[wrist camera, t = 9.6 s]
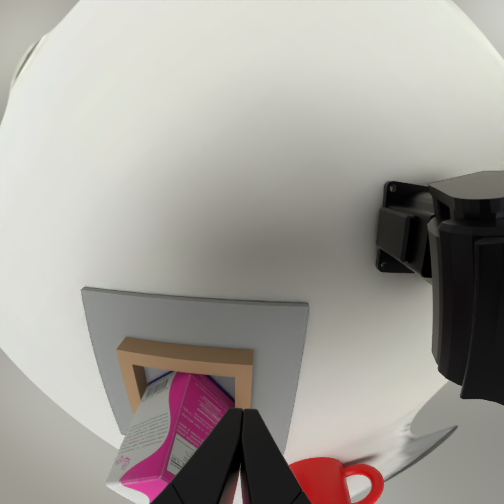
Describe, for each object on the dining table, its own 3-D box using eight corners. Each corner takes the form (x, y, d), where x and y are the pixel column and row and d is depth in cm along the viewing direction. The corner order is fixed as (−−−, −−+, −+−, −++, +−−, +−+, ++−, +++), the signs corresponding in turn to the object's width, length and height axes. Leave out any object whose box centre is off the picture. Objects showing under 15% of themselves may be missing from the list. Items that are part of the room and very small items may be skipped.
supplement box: (191, 421, 23) (165, 521, 12) (147, 381, 22) (98, 482, 11) (239, 401, 22) (228, 516, 11) (194, 356, 21) (154, 475, 10)
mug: (377, 465, 26) (391, 510, 19) (289, 490, 28) (292, 536, 20) (371, 437, 25) (389, 491, 17) (270, 467, 26) (270, 521, 19)
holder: (307, 303, 21) (313, 320, 18) (283, 450, 25) (284, 468, 23) (84, 287, 21) (67, 298, 18) (123, 430, 25) (115, 446, 23)
